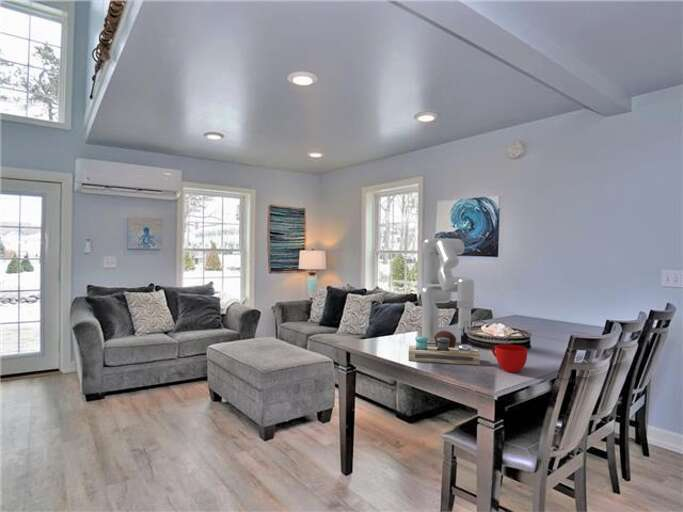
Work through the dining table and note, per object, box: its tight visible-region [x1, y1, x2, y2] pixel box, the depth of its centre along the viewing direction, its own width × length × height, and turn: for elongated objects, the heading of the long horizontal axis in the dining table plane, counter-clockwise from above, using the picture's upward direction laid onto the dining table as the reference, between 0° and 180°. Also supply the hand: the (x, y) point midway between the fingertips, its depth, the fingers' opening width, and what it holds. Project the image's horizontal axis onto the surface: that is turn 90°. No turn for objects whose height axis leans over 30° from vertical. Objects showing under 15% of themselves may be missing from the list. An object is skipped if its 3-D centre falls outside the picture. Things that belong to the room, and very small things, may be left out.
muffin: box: [434, 330, 457, 348], centre depth 218 cm, size 12×11×10 cm
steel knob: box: [457, 344, 473, 352], centre depth 197 cm, size 6×6×6 cm
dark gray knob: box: [437, 337, 450, 351], centre depth 199 cm, size 6×6×6 cm
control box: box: [408, 345, 481, 366], centre depth 199 cm, size 10×32×5 cm, turn 79°
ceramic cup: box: [491, 343, 528, 373], centre depth 184 cm, size 13×17×10 cm
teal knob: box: [414, 335, 428, 350], centre depth 201 cm, size 6×6×6 cm
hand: (464, 343), depth 197 cm, fingers closed
